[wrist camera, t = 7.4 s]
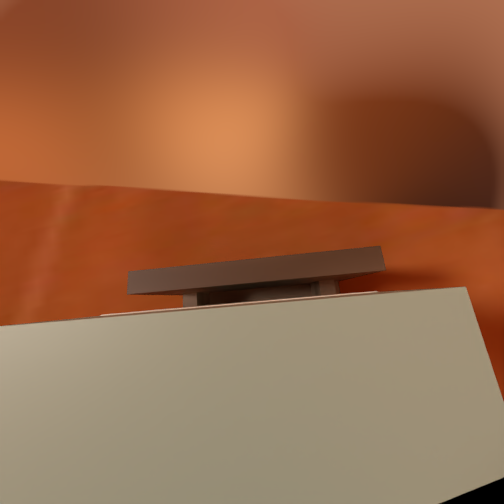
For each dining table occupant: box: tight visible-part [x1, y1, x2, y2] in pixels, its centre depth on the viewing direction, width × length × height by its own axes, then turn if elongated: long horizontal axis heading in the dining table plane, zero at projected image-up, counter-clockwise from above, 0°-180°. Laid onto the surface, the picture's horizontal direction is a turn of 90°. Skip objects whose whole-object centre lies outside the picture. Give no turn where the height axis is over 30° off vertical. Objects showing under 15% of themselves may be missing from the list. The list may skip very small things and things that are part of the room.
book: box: [0, 287, 504, 504], centre depth 9 cm, size 4×6×13 cm, turn 95°
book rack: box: [127, 246, 386, 307], centre depth 13 cm, size 12×13×8 cm
